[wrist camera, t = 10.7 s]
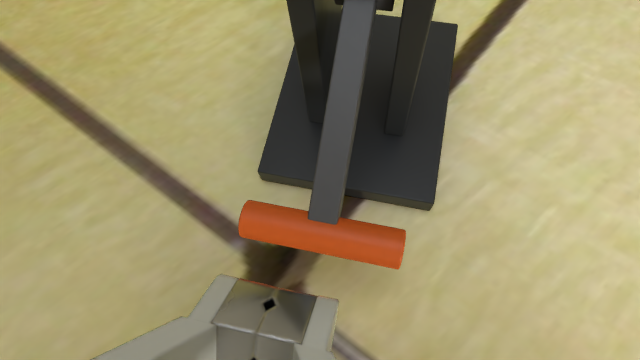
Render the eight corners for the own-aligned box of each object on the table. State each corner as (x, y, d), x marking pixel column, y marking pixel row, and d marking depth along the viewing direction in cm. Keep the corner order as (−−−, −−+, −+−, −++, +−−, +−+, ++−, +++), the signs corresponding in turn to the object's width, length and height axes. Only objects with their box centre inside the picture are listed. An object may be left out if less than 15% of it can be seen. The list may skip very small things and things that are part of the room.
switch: (398, 260, 17) (399, 278, 14) (252, 230, 17) (230, 243, 15) (458, -61, 16) (471, -99, 13) (299, -75, 16) (284, -114, 14)
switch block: (429, 211, 22) (509, 75, 11) (261, 180, 23) (178, 30, 12) (453, 37, 25) (530, -195, 14) (307, 19, 27) (276, -208, 16)
